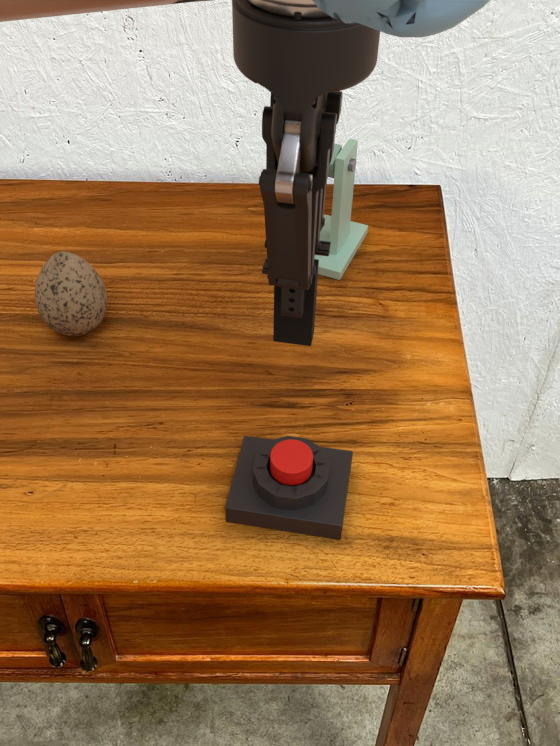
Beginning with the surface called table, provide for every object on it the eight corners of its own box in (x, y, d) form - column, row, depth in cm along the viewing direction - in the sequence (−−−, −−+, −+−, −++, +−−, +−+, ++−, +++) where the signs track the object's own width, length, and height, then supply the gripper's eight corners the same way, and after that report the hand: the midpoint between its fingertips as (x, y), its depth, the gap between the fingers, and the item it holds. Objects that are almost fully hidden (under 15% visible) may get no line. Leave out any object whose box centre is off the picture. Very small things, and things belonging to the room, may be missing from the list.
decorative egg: (58, 360, 80) (38, 286, 73) (35, 320, 84) (13, 246, 77) (123, 335, 83) (109, 261, 76) (97, 298, 87) (81, 224, 80)
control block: (225, 522, 67) (223, 495, 64) (244, 450, 72) (243, 422, 70) (340, 540, 66) (343, 513, 63) (351, 465, 71) (354, 438, 68)
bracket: (339, 280, 90) (348, 176, 80) (276, 262, 92) (277, 159, 82) (367, 233, 96) (379, 131, 86) (307, 217, 98) (312, 116, 88)
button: (266, 482, 66) (266, 469, 64) (274, 449, 68) (274, 436, 67) (308, 488, 65) (309, 476, 64) (314, 455, 68) (315, 442, 66)
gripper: (372, 50, 33) (334, 412, 50) (394, -51, 42) (356, 285, 59) (201, 35, 34) (221, 396, 51) (258, -62, 43) (259, 273, 60)
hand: (293, 336), depth 55 cm, fingers closed
